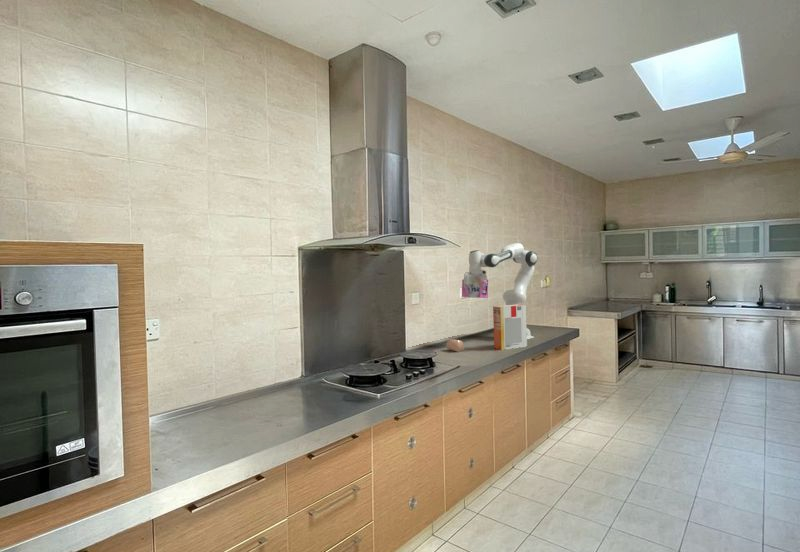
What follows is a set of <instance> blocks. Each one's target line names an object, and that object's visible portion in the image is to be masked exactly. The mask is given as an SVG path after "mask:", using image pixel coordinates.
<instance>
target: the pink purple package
mask: <svg viewBox="0 0 800 552" xmlns="http://www.w3.org/2000/svg"><path fill="white" fill-rule="evenodd" d="M461 281H462V282H461V297H462V298H475V299H480V298H481V299H488V298H489V279H487V280H482V279H474V280H473V284H472V285H471V288H472V291H470V288H469V287H468V285H464V278H463V279H462V280H461Z"/></svg>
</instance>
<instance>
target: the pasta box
mask: <svg viewBox="0 0 800 552" xmlns="http://www.w3.org/2000/svg"><path fill="white" fill-rule="evenodd" d="M492 310H493V311H492V312H493V313H492V314H493V344H494V346H493V347H494V349H495V348H496V350H499V349H500V351H505V350H504V349H506V350H513V349H518V348H519V347H520V348H526V346H527V347H528V339H527V328H528V326H527V305H526V304H516V305H506V304H505V305H498V306H497V305H496V306H492ZM512 348H513V349H512Z"/></svg>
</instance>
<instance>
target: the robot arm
mask: <svg viewBox="0 0 800 552" xmlns="http://www.w3.org/2000/svg"><path fill="white" fill-rule="evenodd" d="M507 260H508V261H509V260H512V261H513V262H514V263H517V264H521V267H520V269H519V271H518V273H517V275H516V277H515V278H514V282H513V283H514V287H513V289H508V290H505V291H504V292H503V294H502V299H503V301H504V303H505V305H516V304H520V305H523V304H524V303H525V302H526V301H527V291H528V290H527V289H528V286H529V284H530V282H531V280H532V278H533V275H534V272H535V266H536V264H537V261H538V254H537V253H536V252H535V251H533V250H527V249H526V250H525V247H524V245H523V244H522V243H520V242H516V243H510V244H508V245H507V244H506V245H505V246H503V247H502V248H501V250H500V252H499V253H489V254H488V253H487V254H485V253H483V252H481V251H480V249H479V250H471V251H469V253H468V264H469V265H468V266H469V267H468V272H465V273H464V275H463V279H464V285H468V287H469V288H470V291H472V288H471V285H472V284H473V280H474V279H482V280H488V277H487V270H484V269H483V268H495V267H497V266H498V265H499V264H500V263H502V262H504V261H507ZM531 334H532V333H531V330H530V329H529V328H528V327H527V340H530V339H534V338H535V336H533V335H531Z"/></svg>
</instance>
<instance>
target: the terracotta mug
mask: <svg viewBox="0 0 800 552" xmlns="http://www.w3.org/2000/svg"><path fill="white" fill-rule="evenodd" d="M464 346H465V345H464V342H463V341H462V340H461V339H454V338H449V339H447V341H446V349H447V350H448V351H451V352H458V353H460V352H462V351H464Z"/></svg>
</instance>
